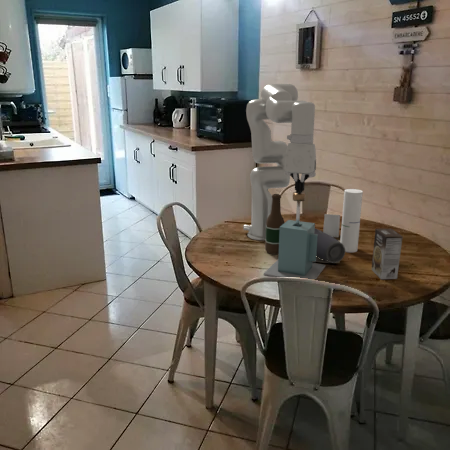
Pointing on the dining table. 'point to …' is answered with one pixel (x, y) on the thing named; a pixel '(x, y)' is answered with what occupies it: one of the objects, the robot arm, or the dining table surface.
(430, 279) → the dining table surface
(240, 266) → the dining table surface
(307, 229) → the teal block
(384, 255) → the coffee box
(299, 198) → the shiny round knob
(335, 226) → the light grey block
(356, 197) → the cylindrical container
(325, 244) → the bluetooth speaker
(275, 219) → the beer bottle
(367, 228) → the dining table surface
